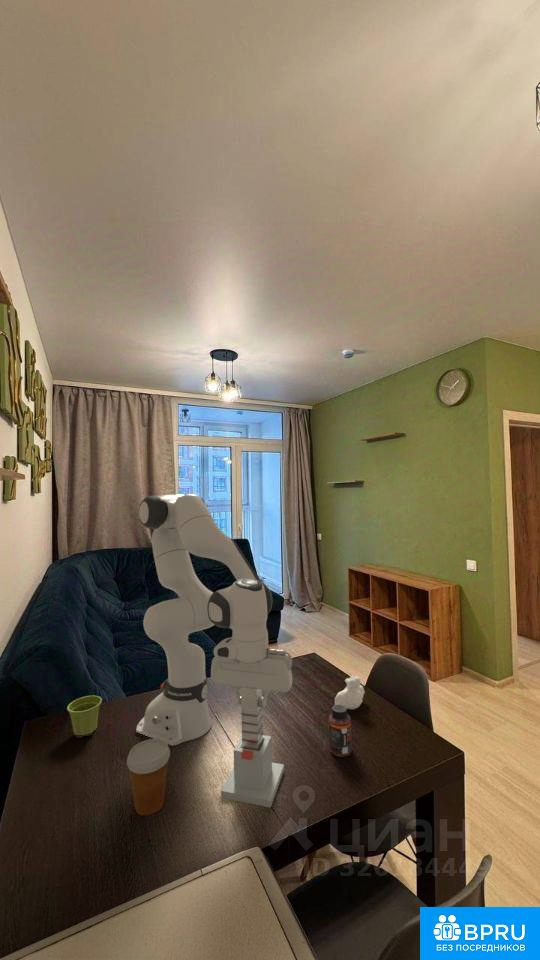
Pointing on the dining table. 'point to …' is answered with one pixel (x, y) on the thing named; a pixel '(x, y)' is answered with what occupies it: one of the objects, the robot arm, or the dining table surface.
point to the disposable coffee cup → (148, 774)
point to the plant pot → (84, 714)
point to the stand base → (253, 775)
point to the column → (251, 718)
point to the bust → (351, 693)
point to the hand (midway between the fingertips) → (251, 704)
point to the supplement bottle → (340, 731)
